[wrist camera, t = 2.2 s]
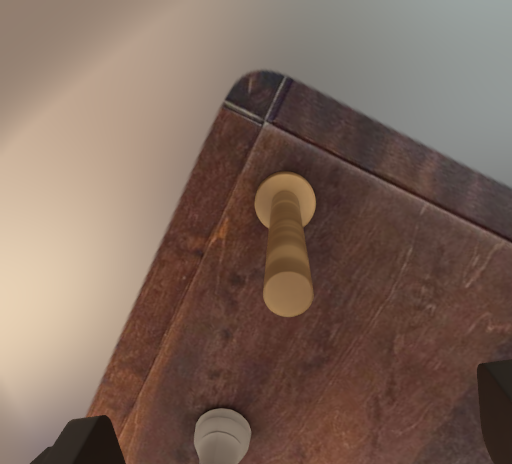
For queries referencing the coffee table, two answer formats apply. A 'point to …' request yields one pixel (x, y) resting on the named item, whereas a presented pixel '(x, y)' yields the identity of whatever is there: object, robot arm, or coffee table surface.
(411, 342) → the coffee table surface
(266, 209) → the tan tall turned piece
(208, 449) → the rook chess piece
